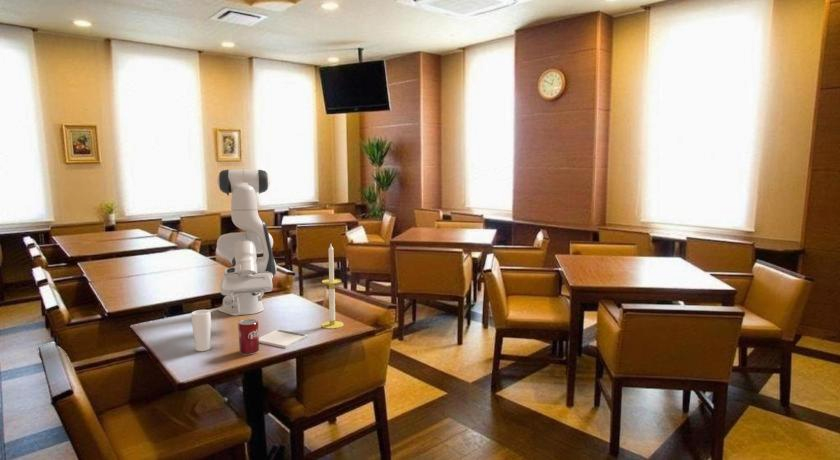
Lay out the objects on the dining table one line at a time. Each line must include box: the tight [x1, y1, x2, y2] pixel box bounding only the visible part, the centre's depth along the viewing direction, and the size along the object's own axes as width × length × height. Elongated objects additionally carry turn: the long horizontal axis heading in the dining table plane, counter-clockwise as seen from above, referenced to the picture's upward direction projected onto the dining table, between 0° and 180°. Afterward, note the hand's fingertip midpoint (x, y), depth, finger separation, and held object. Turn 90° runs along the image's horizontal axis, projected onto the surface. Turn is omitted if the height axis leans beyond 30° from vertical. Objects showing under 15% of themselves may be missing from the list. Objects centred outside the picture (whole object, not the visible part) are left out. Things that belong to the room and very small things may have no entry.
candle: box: [320, 243, 345, 330], centre depth 216 cm, size 10×10×38 cm
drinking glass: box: [191, 309, 212, 352], centre depth 188 cm, size 7×7×15 cm
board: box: [259, 328, 309, 349], centre depth 200 cm, size 16×14×1 cm
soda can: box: [237, 318, 260, 356], centre depth 186 cm, size 7×7×12 cm
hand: (247, 301), depth 196 cm, fingers open, 8 cm apart
